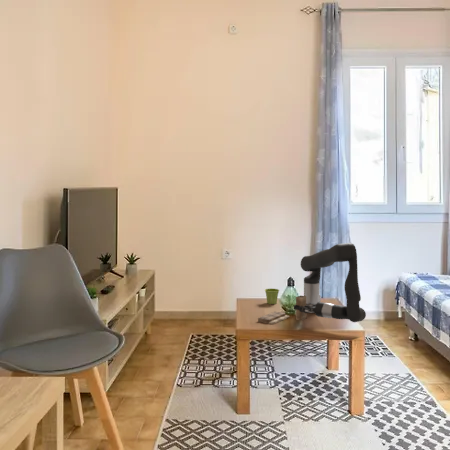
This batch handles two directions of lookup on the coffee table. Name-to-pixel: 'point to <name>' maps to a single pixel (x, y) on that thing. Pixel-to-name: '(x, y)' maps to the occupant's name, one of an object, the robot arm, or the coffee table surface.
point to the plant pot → (271, 295)
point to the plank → (301, 302)
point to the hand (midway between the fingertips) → (296, 306)
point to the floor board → (273, 317)
